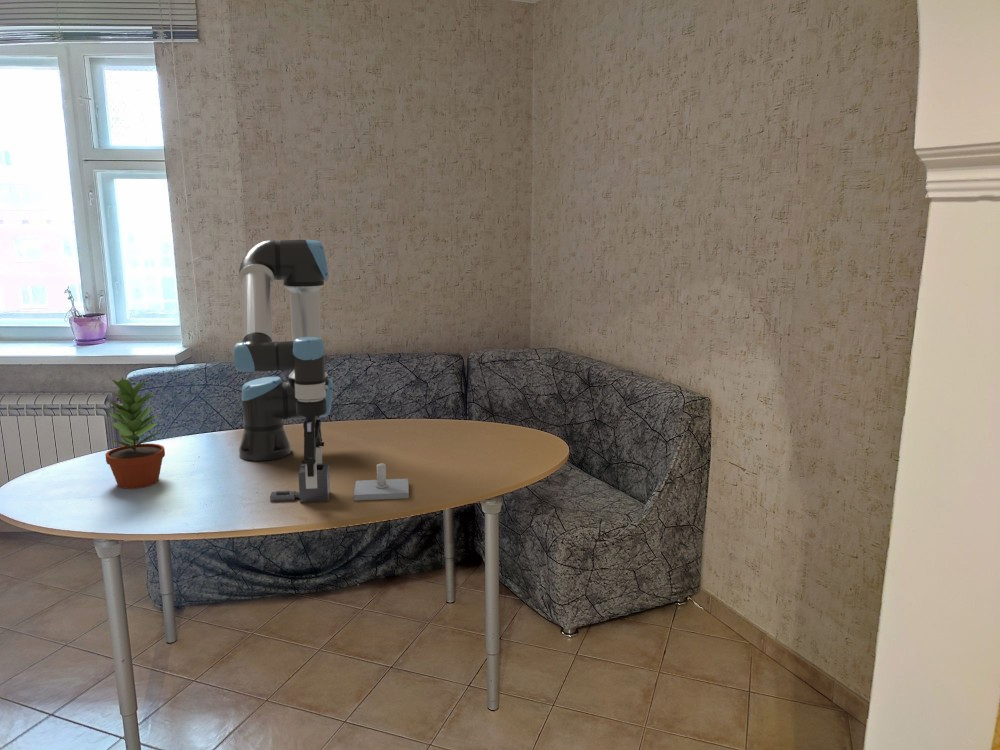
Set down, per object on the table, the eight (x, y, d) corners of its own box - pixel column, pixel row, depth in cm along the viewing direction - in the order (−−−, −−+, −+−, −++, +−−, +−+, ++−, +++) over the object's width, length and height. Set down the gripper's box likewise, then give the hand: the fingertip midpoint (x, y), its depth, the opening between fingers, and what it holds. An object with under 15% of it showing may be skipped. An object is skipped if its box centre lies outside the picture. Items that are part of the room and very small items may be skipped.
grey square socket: (269, 504, 191) (267, 473, 190) (273, 494, 198) (271, 465, 196) (328, 501, 193) (326, 471, 192) (330, 492, 200) (329, 463, 198)
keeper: (353, 500, 194) (352, 472, 193) (356, 485, 205) (355, 459, 203) (408, 498, 196) (408, 470, 194) (408, 483, 207) (407, 457, 205)
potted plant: (180, 478, 210) (171, 372, 204) (130, 495, 197) (119, 382, 191) (146, 469, 217) (137, 366, 211) (96, 484, 204) (84, 376, 198)
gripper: (321, 409, 179) (325, 495, 183) (330, 388, 204) (333, 464, 207) (288, 410, 178) (293, 496, 182) (301, 389, 203) (305, 465, 206)
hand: (314, 479), depth 195 cm, fingers open, 13 cm apart
